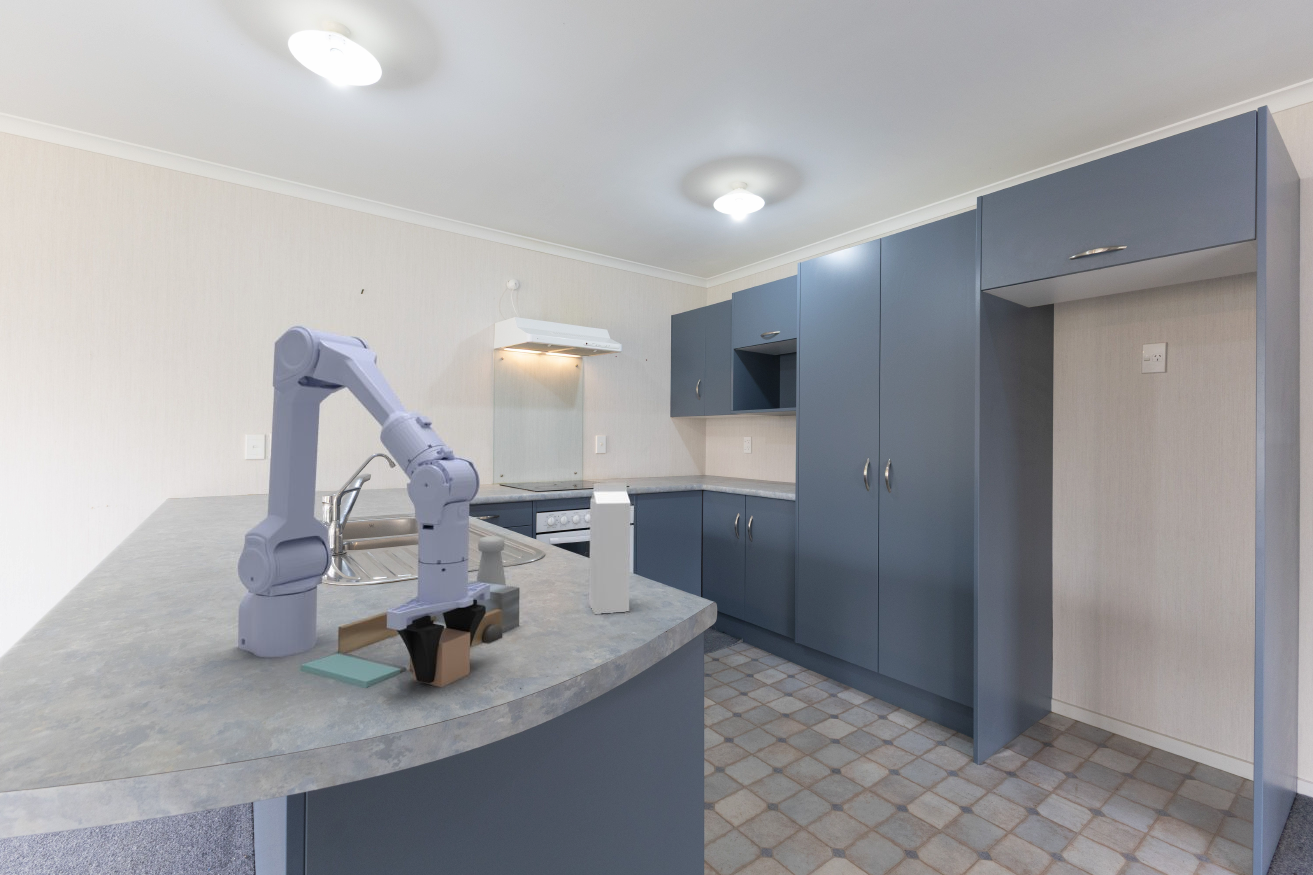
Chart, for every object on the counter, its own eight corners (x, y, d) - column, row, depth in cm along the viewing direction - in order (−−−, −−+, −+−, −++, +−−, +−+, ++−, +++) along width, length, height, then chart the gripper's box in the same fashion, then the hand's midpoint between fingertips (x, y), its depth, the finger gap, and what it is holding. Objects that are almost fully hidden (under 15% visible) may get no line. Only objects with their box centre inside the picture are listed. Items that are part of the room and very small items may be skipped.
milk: (629, 612, 102) (631, 484, 102) (594, 615, 100) (596, 484, 100) (621, 602, 108) (623, 481, 108) (588, 605, 106) (590, 481, 106)
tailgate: (342, 658, 78) (300, 671, 72) (342, 651, 78) (301, 663, 72) (406, 674, 73) (365, 689, 68) (406, 665, 73) (366, 680, 68)
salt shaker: (498, 620, 96) (499, 540, 96) (465, 618, 97) (466, 538, 97) (513, 610, 102) (514, 534, 102) (483, 608, 103) (484, 533, 103)
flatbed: (331, 658, 79) (332, 607, 79) (443, 618, 97) (444, 576, 97) (423, 680, 72) (423, 624, 72) (525, 633, 90) (525, 588, 90)
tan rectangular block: (413, 688, 70) (413, 637, 70) (441, 675, 74) (442, 627, 74) (441, 696, 68) (442, 643, 68) (469, 681, 72) (470, 632, 72)
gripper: (421, 575, 63) (419, 703, 63) (509, 552, 76) (507, 658, 76) (373, 568, 66) (372, 690, 66) (466, 547, 79) (465, 649, 79)
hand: (441, 672), depth 71 cm, fingers open, 5 cm apart
